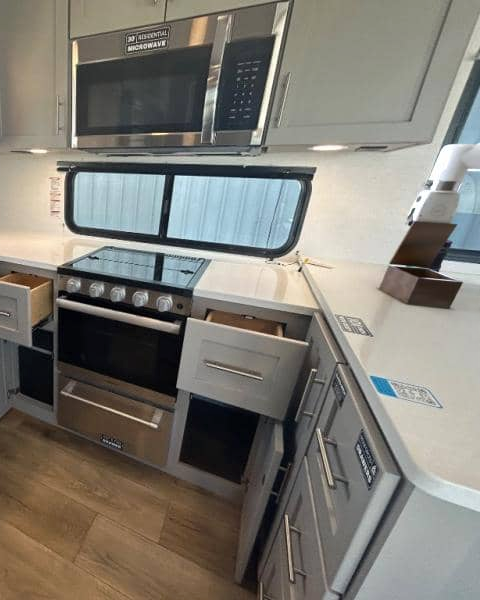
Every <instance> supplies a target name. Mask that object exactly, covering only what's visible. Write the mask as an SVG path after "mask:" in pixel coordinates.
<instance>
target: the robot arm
mask: <svg viewBox="0 0 480 600" xmlns="http://www.w3.org/2000/svg"><path fill="white" fill-rule="evenodd" d="M468 172H480V142H478V143H476V144H472V143H450V144H446V145H444V146H443V147H442V148H441V150H440V152H439V154H438V156H437V159H436V161H435V164H434V165H433V168H432V171H431V173H430V175H429V178H428V180H427V181H426V182H422V184H421V187H422V188H424V190H421V191H420V192H419V194H418V195H417V197H416V198H415V200H414V201H413V204H412V206H411V207H410V209H409V212H408V214H407V217H406V221H405V226H407V227H410V226H411V224H412V223H413V221H421V222H437V223H452V221H453V220H454V218H455V215H456V212H457V209H458V206H459V203H460V200H461V199H460V198H461V192H459V190H460V187H461V185H462V183H463V181H464V179H465V177H466V175H467V173H468Z"/></svg>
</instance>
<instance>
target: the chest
mask: <svg viewBox="0 0 480 600" xmlns="http://www.w3.org/2000/svg"><path fill="white" fill-rule="evenodd" d="M463 283H464V281H462V280H459V279H456V278H454V277H451V276H449V275H446V274H443V273H441V272H439V273H438V272H436V271H433V270H431V269H428V268H418V267H406V266H404V265H393V264H388V265H387V268H386V271H385V273H384V275H383V277H382V280H381V283H380V285H379V288H378V289H379V290H381V291H383V292H384V293H386V294H388V295H389V296H392V297H393V298H395V299H397V300H398V301H400V302H402V303H404V304H405V305H411V306H412V305H413V306H421V307H431V308H441V309H451V306H452V305H453V303H454V301H455V298H456V297H457V295H458V292H459V291H460V289H461V287H462V285H463Z"/></svg>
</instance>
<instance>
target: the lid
mask: <svg viewBox="0 0 480 600" xmlns="http://www.w3.org/2000/svg"><path fill="white" fill-rule="evenodd" d="M457 226H458V224H457V223H452V222H451V223H437V222H421V221H413V223H412V224H411V226H409V228H408V230H407V231H406V233H405V235H403V238H402V240H401V242H400V243H399V245H398V247H397V249H396V250H395V252H394V253H393V256H391V259H390V260H389V262H388V265H394V266H416V267H428V268H429V267H430V265H431V264H432V262H433V261H434V259H435V258H436V256H437V255H438V253H439V252H440V250H441V249H442V247H443V245H444V244H445V242H446V241H447V240H449V238H450V237H451V235H452V233H453V232H454V230H455V229H456V227H457Z"/></svg>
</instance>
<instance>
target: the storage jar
mask: <svg viewBox="0 0 480 600" xmlns="http://www.w3.org/2000/svg"><path fill="white" fill-rule="evenodd" d="M453 242H454V241H452V240H451V239H450V240H449V239H447V241H446V242H445V244H444V245H443V247H442V249H441V250H440V252H439V253H438V255H437V256H436V258H435V259H434V261H433V262H432V264H431V265H430V267H429V268H428V267H418V268H428V269H431V270H433V271H436V272H438V273H440V270H441V268H442V263H443V261H444V259H445V257H446V256H447V255H448V254H449V252H450V249H451V247H452V245H453ZM406 267H416V266H406Z"/></svg>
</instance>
